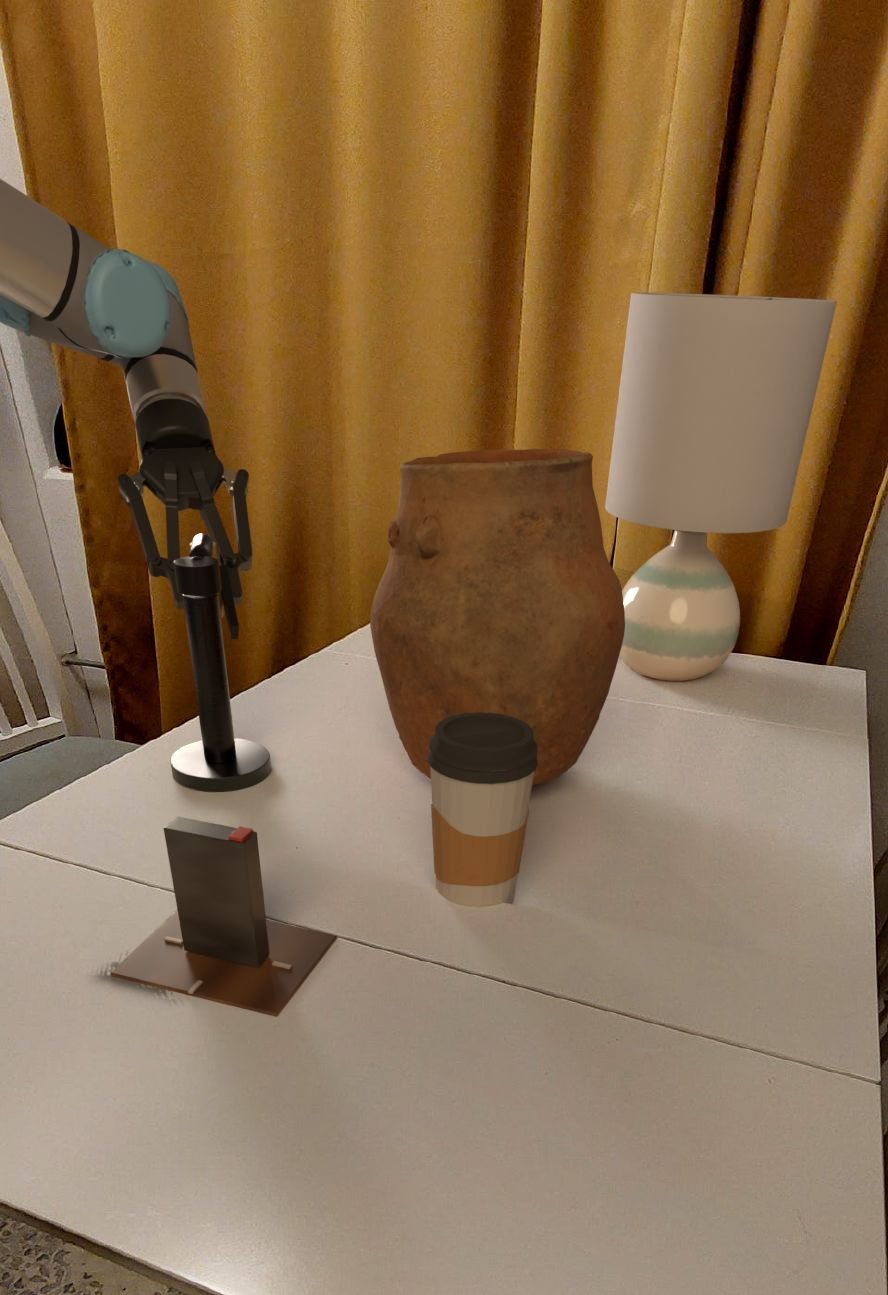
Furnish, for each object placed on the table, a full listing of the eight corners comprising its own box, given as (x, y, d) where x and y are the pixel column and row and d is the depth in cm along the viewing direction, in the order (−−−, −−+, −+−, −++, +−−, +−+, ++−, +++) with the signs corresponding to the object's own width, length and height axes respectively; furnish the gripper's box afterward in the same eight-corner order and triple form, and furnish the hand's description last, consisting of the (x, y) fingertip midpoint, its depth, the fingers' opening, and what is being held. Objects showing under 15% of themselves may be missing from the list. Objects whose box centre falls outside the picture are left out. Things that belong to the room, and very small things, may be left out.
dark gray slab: (184, 951, 68) (162, 824, 62) (196, 937, 69) (176, 812, 63) (258, 968, 67) (243, 840, 60) (270, 954, 68) (256, 828, 62)
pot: (486, 712, 112) (502, 420, 94) (651, 777, 99) (707, 453, 80) (328, 768, 98) (311, 440, 80) (494, 853, 85) (520, 483, 67)
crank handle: (227, 655, 88) (217, 564, 83) (184, 655, 88) (171, 564, 83) (231, 612, 99) (222, 529, 94) (192, 612, 98) (181, 529, 94)
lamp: (636, 634, 138) (687, 293, 113) (776, 669, 127) (866, 301, 103) (554, 671, 124) (593, 291, 100) (704, 713, 114) (788, 301, 89)
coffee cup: (541, 920, 76) (560, 745, 67) (446, 939, 74) (453, 760, 65) (499, 870, 82) (511, 704, 73) (410, 887, 80) (411, 716, 71)
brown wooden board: (114, 996, 67) (108, 971, 66) (188, 922, 75) (185, 899, 73) (278, 1037, 64) (275, 1012, 63) (338, 956, 72) (337, 932, 70)
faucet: (153, 782, 94) (121, 601, 84) (204, 745, 102) (181, 574, 91) (242, 799, 92) (221, 614, 81) (287, 759, 100) (273, 586, 89)
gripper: (247, 443, 103) (291, 644, 101) (94, 448, 98) (137, 659, 97) (250, 392, 96) (298, 608, 94) (85, 395, 91) (131, 622, 89)
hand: (216, 633), depth 95 cm, fingers open, 3 cm apart
